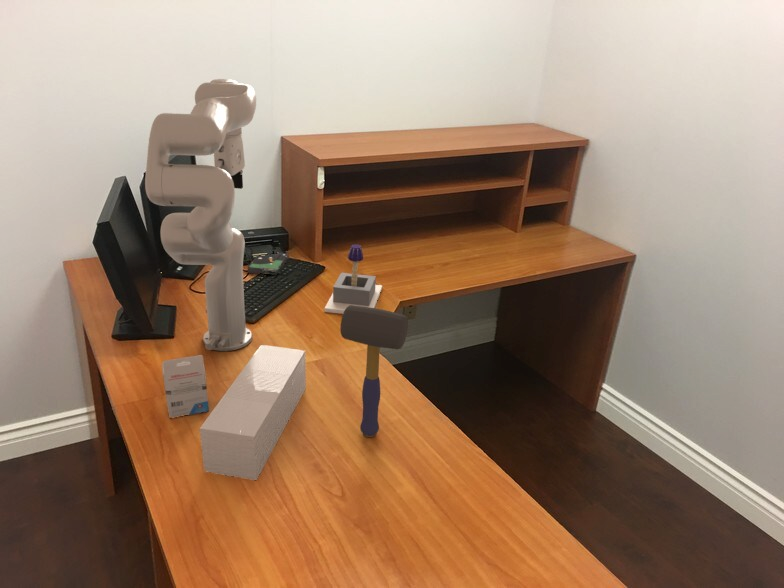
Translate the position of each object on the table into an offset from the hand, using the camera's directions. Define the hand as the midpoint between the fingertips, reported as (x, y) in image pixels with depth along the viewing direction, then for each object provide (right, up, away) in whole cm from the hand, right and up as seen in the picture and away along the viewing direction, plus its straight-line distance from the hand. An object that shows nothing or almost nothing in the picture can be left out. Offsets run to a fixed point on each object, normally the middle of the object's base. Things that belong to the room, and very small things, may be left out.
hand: (230, 192), depth 170 cm
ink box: (-1, -53, -32) cm, 62 cm away
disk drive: (+2, -19, +42) cm, 46 cm away
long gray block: (+15, -57, -35) cm, 69 cm away
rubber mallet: (+39, -58, -36) cm, 79 cm away
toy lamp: (+32, -29, +21) cm, 48 cm away
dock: (+32, -29, +22) cm, 49 cm away
